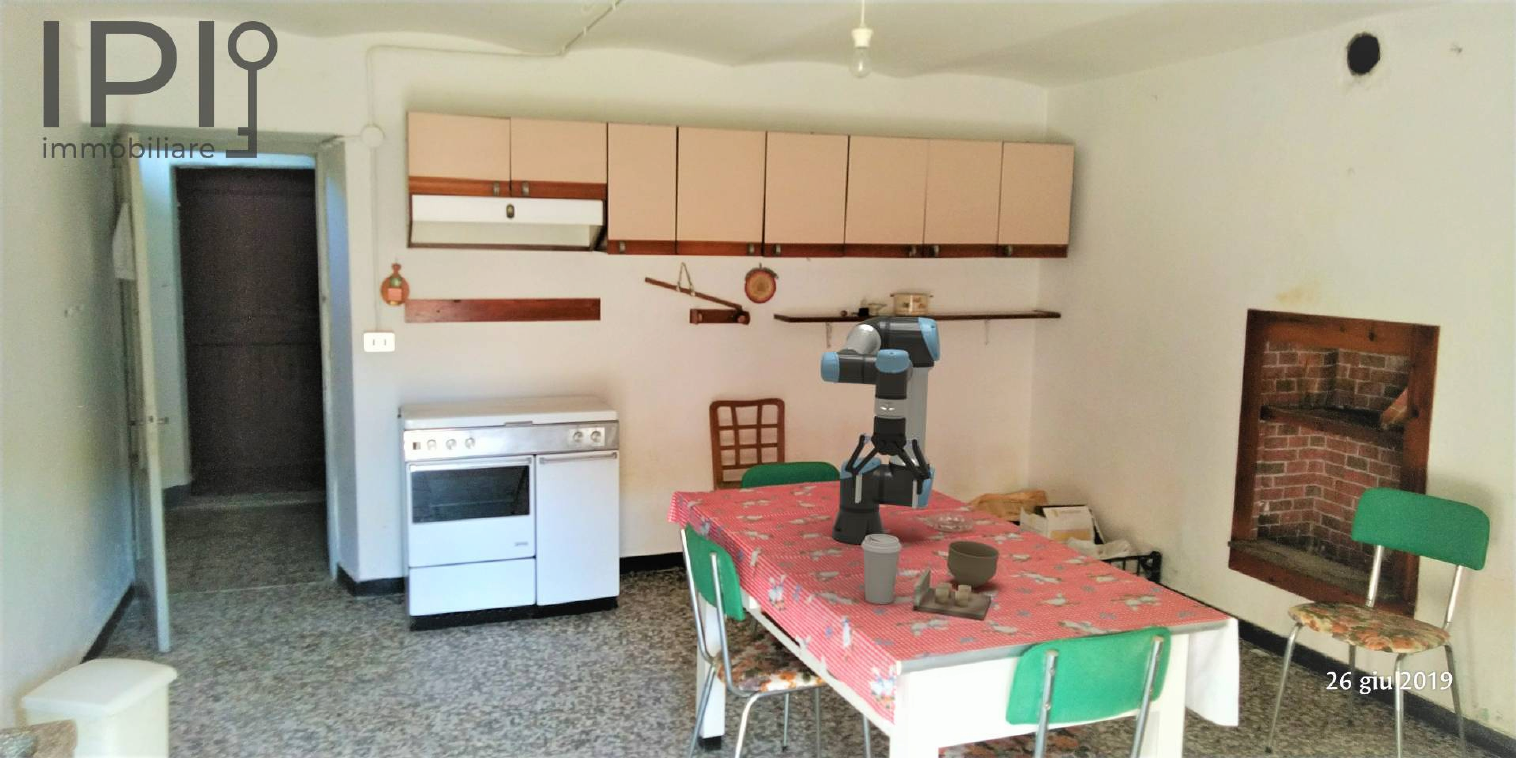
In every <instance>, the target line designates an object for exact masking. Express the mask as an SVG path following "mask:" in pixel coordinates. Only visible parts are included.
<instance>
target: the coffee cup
mask: <svg viewBox="0 0 1516 758" xmlns="http://www.w3.org/2000/svg"><path fill="white" fill-rule="evenodd" d="M899 539H900V538H898V536H895V535H891V534H885V533H884V534H871V535H868V536H866V537H865V540H864V541H863V542H862V544H860V547H861V548H862V549H863V550H862V551H863V569H864V570H863V572H864V574H863V575H864V593H865V601H867V602H869V603H871V604H876V605H887V604H891V603H893V600H894V597H895V596H894V595H895V594H894V593H895V587H896V580H897V572H898V564H899V557H900V551H902V550H903V547H902V545H901V542H900V540H899Z"/></svg>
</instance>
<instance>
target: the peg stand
mask: <svg viewBox="0 0 1516 758" xmlns="http://www.w3.org/2000/svg"><path fill="white" fill-rule="evenodd" d="M931 571H932V569H931V568H927V567H925V569H924V570H923V572H922V573H921V575H920V576H919V578H918V579H917V581H916V582H915V584H914V585H913V586H914V587H913V588H914V589H913V606H912V611H915V612H921V613H922V612H923V613H929V614H930V613H931V614H936V615H937V614H938V615H944V616H948V617H949V616H951V617H957V618H963V619H964V618H965V619H972V620H976V621H977V620H978V621H984V619H985V617H986V615H987V612H988V610H989V607H990V604H991V602H992V596H991V595H984V594H983V595H982V594H976V593H972V588H971V586H968V585H961V584H959V585H958V589H957V590H956V591H954V590H952V587H953V584H952V583H951V582H945V581H942V582H939V583H938V588H934V587H933V588H932V587H930V586H931Z"/></svg>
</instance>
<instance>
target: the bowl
mask: <svg viewBox="0 0 1516 758" xmlns="http://www.w3.org/2000/svg"><path fill="white" fill-rule="evenodd" d="M999 556H1000V551H999V550H998V549H997V548H996V547H994V546H992V545H989V544H987V543H983V542H979V541H973V540H955V541H951V542H949V543H948V553H947V560H946V566H947V570H948V571H949V573H950V574H951V575H952V576H953V577H954V578H955V579H956V580H957V582H958V583H959V585H968V586H971V589H972V588H974V589H975V588H979V587H980V586H981V585H983V584H985V583H987V582H989V581H990V580H991V579H992V578H993V577H994V576H996V573H997V567H998V560H999Z"/></svg>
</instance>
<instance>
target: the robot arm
mask: <svg viewBox="0 0 1516 758" xmlns="http://www.w3.org/2000/svg"><path fill="white" fill-rule="evenodd" d="M940 358H941V343H940V334H939V327H938V324H937V322H936V320H935V319H932V318H927V317H920V316H919V317H914V316H913V317H912V316H888V315H887V316H886V315H885V316H877V317H872V318H868V319H865V320H863V321H861V322H859V323H857V324H855V325H854V326H853V327H852V328H851V329H850V330H849V332H848V333H847V335H846V340H845V342H844V344H843V345H842V346H841V348H840V349H839V350H838V351H826V352H823V354H822V356H821V361H820V377H821V379H822V380H823V381H824V382H827V383H834V384H838V383H839V384H851V385H852V384H854V385H855V384H856V385H857V384H858V385H874V386H875V387H874V389H875V391H874V392H875V393H874V404H873V405H874V410H873V412H874V414H875V415H874V417H873V431H872V434H871V435H869V434H867V433H865V432H864V433H861V434H860V435H859V437H858V443H857V445H856V447H855V449H854V451H853V453H852V454H851V456H850V458H849V459H847V460H845V461H844V462H843V463H842V464H841V466H840V476H839V501H838V502H839V504H838V505H839V506H838V507H839V509H838V512H837V515H836V517H835V521H834V524H833V526H832V530H831V532H832V533H831V537H832V538H833V539H834V540H836V541H838V542H842V543H846V544H851V545H862V542H863V541H864V540H865V537H866V536H868V535H871V534H885V528H884V525H883V522H882V517H881V513H880V505H885V506H893V507H894V506H896V507H897V506H898V507H909V508H911V509H913V510H916V509H917V508H925V507H927V506H928V504H929V501H930V497H931V493H932V488H933V483H934V478H935V477H934V476H935V472H936V471H935V470H936V469H935V468H934V467H933V466H931V465H930V464H931V460H930V459H929V458H928V457H927V456H926V438H927V437H926V434H927V432H926V431H927V413H928V393H929V392H928V391H929V390H928V389H929V372H930V371H932V369H934V368H935V362H937V361H940ZM869 442H871V444H872V445H873V447H874V448H873V449H872V450H871V451H870V452H869V453H868V454H867V455H866V456H865V457H864V456H863V457H860V455H861V453H862V451H863V449H864V447H865V445H867V444H868V443H869ZM877 454H879V455H881V456H890V457H888V464H887V463H883V462H882V458H880V457H875V456H876V455H877Z"/></svg>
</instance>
